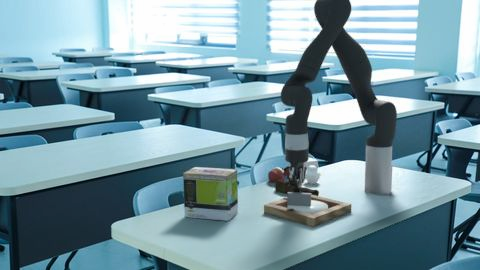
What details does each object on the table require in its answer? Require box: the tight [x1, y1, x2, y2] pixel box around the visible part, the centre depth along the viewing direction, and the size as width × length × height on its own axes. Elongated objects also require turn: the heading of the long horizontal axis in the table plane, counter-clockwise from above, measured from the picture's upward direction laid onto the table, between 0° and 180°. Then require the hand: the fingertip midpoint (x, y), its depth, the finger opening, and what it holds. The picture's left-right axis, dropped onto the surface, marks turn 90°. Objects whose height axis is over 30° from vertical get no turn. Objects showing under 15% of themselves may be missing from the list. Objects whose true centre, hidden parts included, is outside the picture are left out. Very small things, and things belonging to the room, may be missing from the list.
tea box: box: [182, 166, 239, 222], centre depth 196 cm, size 15×10×15 cm
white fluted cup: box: [304, 165, 322, 185], centre depth 235 cm, size 6×6×7 cm
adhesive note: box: [304, 157, 319, 171], centre depth 249 cm, size 6×6×6 cm
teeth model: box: [267, 165, 290, 184], centre depth 238 cm, size 8×6×12 cm
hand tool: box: [274, 180, 320, 196], centre depth 219 cm, size 19×4×5 cm, turn 42°
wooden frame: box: [263, 195, 352, 228], centre depth 199 cm, size 20×20×3 cm
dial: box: [286, 192, 328, 214], centre depth 198 cm, size 13×13×6 cm
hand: (297, 198), depth 202 cm, fingers closed
